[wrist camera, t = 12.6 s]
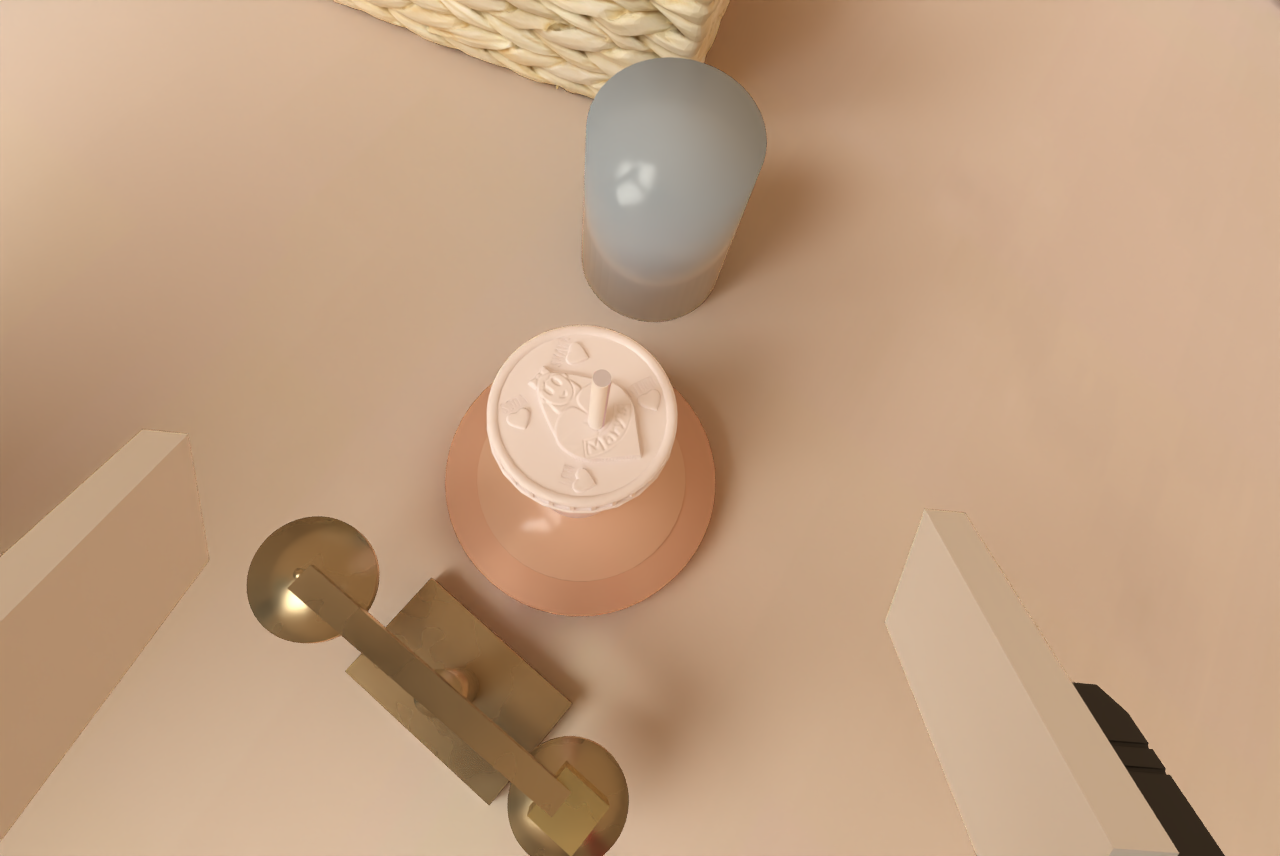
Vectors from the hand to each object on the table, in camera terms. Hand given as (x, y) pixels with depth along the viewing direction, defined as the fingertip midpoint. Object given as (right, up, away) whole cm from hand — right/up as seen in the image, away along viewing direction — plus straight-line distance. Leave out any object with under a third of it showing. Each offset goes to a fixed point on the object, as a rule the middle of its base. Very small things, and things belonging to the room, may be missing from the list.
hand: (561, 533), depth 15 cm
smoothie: (-1, 0, +21) cm, 21 cm away
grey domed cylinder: (+2, +11, +26) cm, 28 cm away
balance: (-6, -9, +19) cm, 22 cm away
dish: (-1, -1, +22) cm, 22 cm away
